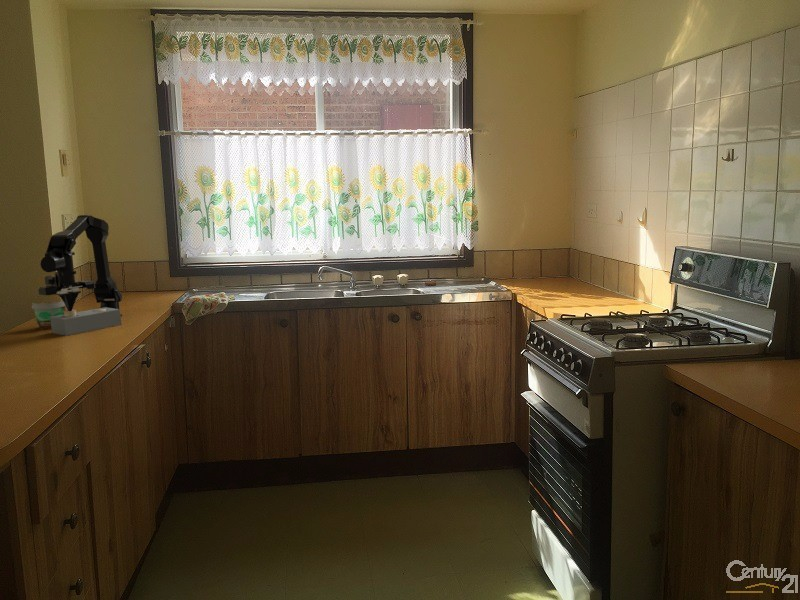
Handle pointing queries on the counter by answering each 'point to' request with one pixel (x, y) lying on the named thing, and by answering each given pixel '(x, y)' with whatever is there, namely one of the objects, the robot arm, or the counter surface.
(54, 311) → the food container
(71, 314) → the birch peg
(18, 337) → the counter surface
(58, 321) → the grey peg board
